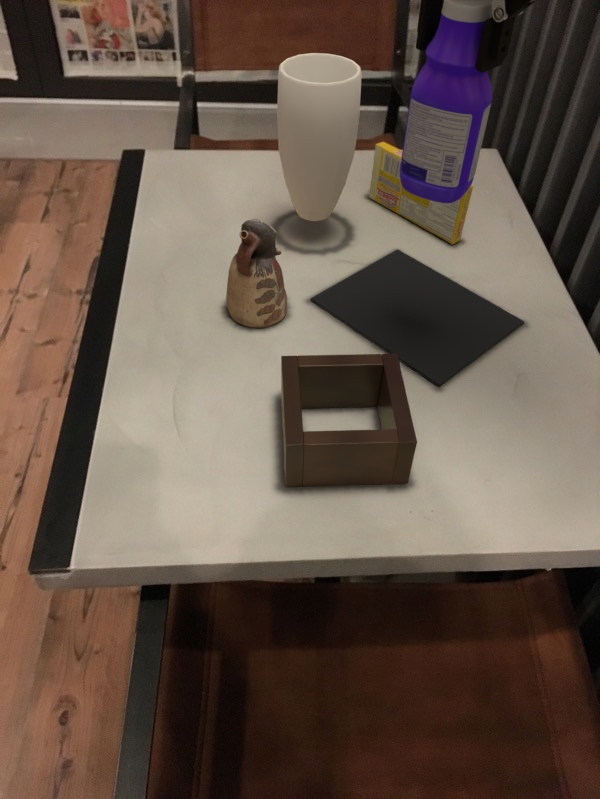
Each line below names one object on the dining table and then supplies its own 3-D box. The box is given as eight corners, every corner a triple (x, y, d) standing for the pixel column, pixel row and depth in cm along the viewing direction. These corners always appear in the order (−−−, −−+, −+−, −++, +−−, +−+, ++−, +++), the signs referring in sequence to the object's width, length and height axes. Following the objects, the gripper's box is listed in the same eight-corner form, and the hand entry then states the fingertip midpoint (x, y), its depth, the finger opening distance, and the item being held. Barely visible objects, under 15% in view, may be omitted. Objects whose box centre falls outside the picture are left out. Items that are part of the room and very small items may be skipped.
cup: (323, 203, 99) (331, 45, 84) (365, 238, 93) (383, 74, 78) (261, 223, 95) (258, 61, 80) (301, 260, 89) (306, 93, 74)
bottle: (478, 189, 69) (522, -4, 57) (456, 213, 66) (497, 14, 53) (413, 169, 72) (441, -19, 59) (389, 192, 68) (413, -3, 56)
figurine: (298, 305, 83) (300, 217, 74) (263, 336, 79) (262, 247, 70) (251, 284, 85) (248, 197, 77) (215, 313, 81) (207, 225, 73)
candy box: (462, 240, 94) (475, 184, 88) (452, 246, 92) (464, 190, 87) (377, 193, 102) (383, 139, 96) (367, 197, 101) (373, 143, 95)
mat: (523, 323, 81) (524, 321, 81) (438, 387, 74) (439, 384, 73) (397, 251, 91) (397, 249, 91) (310, 300, 83) (310, 298, 83)
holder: (390, 395, 73) (397, 353, 68) (407, 483, 65) (417, 442, 60) (281, 397, 72) (281, 355, 68) (285, 486, 64) (285, 445, 60)
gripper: (652, -214, 44) (568, 75, 57) (442, -234, 53) (410, 22, 66) (593, -208, 41) (516, 100, 54) (377, -231, 49) (356, 40, 62)
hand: (458, 54), depth 59 cm, fingers closed on bottle, 5 cm apart
